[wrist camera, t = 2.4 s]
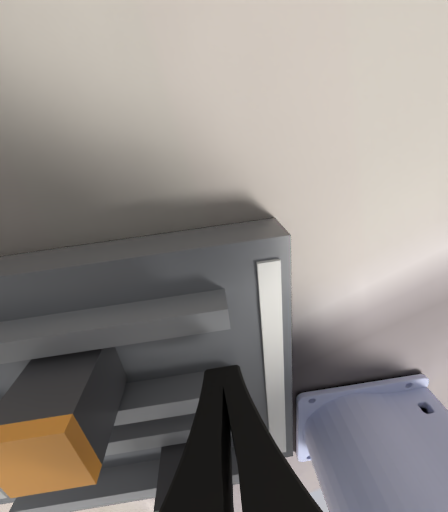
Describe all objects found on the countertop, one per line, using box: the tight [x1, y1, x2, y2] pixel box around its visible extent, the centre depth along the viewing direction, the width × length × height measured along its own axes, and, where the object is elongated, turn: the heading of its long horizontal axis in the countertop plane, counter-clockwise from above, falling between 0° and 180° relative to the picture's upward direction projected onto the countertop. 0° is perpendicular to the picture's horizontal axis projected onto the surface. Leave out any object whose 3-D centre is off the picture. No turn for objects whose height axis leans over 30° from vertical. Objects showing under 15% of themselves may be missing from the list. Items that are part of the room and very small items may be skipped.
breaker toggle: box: [0, 347, 127, 498], centre depth 11 cm, size 3×3×4 cm
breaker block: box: [0, 218, 293, 512], centre depth 13 cm, size 20×16×7 cm
